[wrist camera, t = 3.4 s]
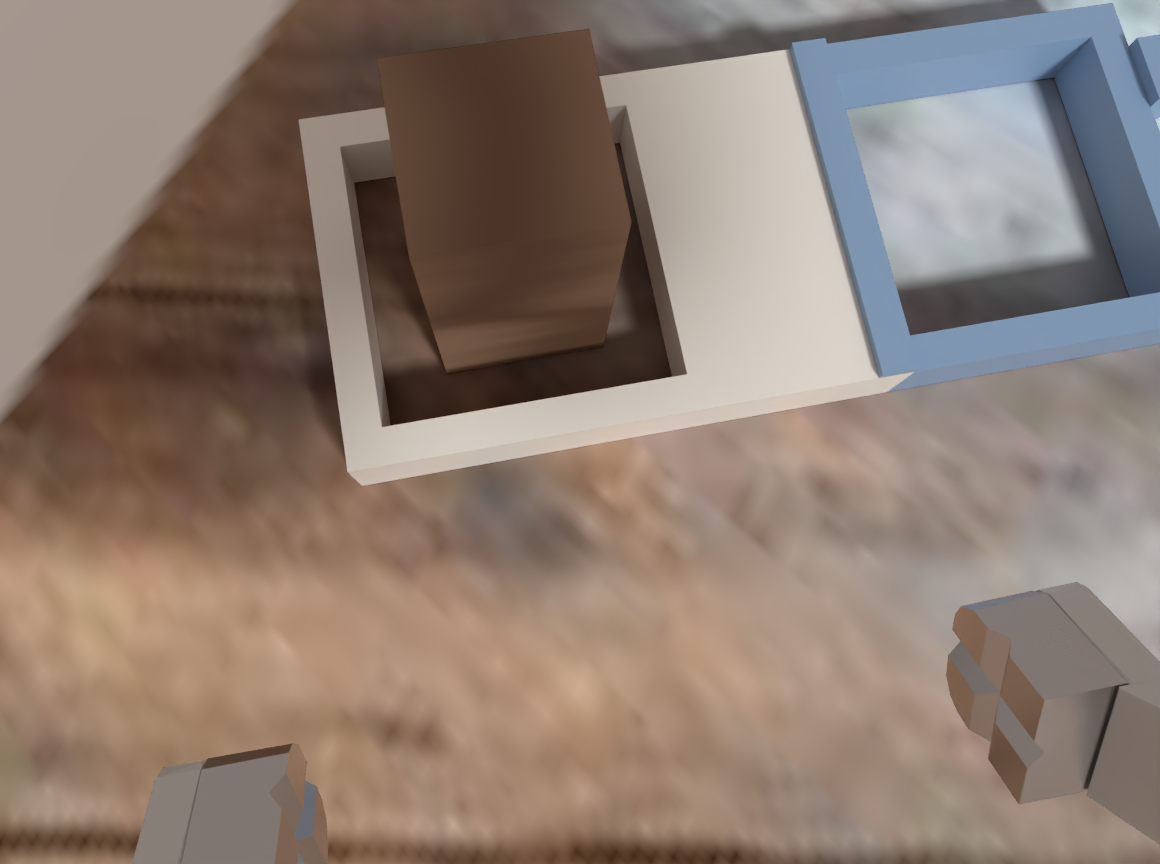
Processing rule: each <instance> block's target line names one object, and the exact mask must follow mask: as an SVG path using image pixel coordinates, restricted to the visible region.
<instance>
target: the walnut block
mask: <svg viewBox="0 0 1160 864" xmlns="http://www.w3.org/2000/svg"><path fill="white" fill-rule="evenodd" d="M377 64H378V71H379V77H380V83H381V89H382V95H383V101H384V107H385V114H386V120H387V126H388V132H389V138H390V144H391V150H392V157H393V163H394V169H395V175H396V181H397V187H398V193H399V200H400V206H401V212H402V218H403V224H404V230H405V236H406V243H407V249H408V255H409V259H410V262H411V265H412V268H413V271H414V274H415V277H416V281H417V284H418V287H419V290H420V293H421V296H422V299H423V302H424V305H425V308H426V311H427V314H428V317H429V320H430V323H431V327H432V330H433V333H434V336H435V339H436V342H437V345H438V348H439V351H440V354H441V357H442V360H443V363H444V366H445V370H446V373H447V374H449V373H455V372H461V371H467V370H473V369H479V368H485V367H491V366H496V365H502V364H508V363H514V362H520V361H526V360H532V359H538V358H544V357H549V356H555V355H561V354H567V353H573V352H579V351H585V350H591V349H597V348H602V347H603V346H604V342H605V337H606V333H607V329H608V324H609V320H610V315H611V311H612V306H613V302H614V298H615V293H616V289H617V284H618V280H619V275H620V271H621V267H622V262H623V258H624V253H625V249H626V244H627V240H628V235H629V231H630V227H631V217H630V213H629V208H628V203H627V199H626V194H625V190H624V185H623V181H622V176H621V172H620V167H619V163H618V158H617V154H616V149H615V145H614V140H613V136H612V131H611V127H610V122H609V118H608V113H607V109H606V104H605V99H604V95H603V90H602V86H601V81H600V77H599V72H598V68H597V63H596V59H595V54H594V50H593V45H592V41H591V36H590V32H589V29H584V30H576V31H569V32H562V33H555V34H548V35H540V36H533V37H526V38H519V39H511V40H504V41H497V42H490V43H483V44H475V45H468V46H461V47H454V48H446V49H439V50H432V51H425V52H417V53H410V54H403V55H396V56H389V57H381V58H377Z"/></svg>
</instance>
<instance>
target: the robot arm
mask: <svg viewBox="0 0 1160 864" xmlns="http://www.w3.org/2000/svg"><path fill="white" fill-rule="evenodd" d="M952 630H953V631H954V632H955V634H956V635H957V637H958V638H959V639H960V643H959V644H958V645H957V646H956V647H955V648H954V649H953V650H952V652H951V653H950V654H949V655H948V663H947V672H946V676H947V681H948V686H949V691H950V695H951V698H952V700H953V703H954V705H955V707H956V709H957V712H958V713H959V715H960V717H961V718H962V720H963V721H964V723H965V724H966V726H967V727H968V729H969V730H971V731H973V732H975V733H976V734H978V735H980V736H982V737H983V738H985V739H987V740H989V741H990V748H989V756H988V759H989V761H990V762H991V764H992V765H993V767H994V768H995V770H996V771H997V773H998V774H999V776H1000V777H1001V779H1002V780H1003V781H1004V783H1005V784H1006V786H1007V787H1008V789H1009V790H1010V792H1011V793H1012V795H1013V796H1014V798H1015V799H1016V801H1017V802H1018V804H1024V803H1029V802H1034V801H1039V800H1044V799H1049V798H1055V797H1060V796H1065V795H1070V794H1075V793H1080V792H1085V791H1087V794H1086V795H1087V796H1089V797H1090V798H1092V799H1093V800H1095V801H1096V802H1097V803H1099V804H1100V805H1102V806H1103V807H1105V808H1106V809H1108V810H1109V811H1111V812H1112V813H1114V814H1115V815H1117V816H1118V817H1120V818H1121V819H1123V820H1124V821H1126V822H1127V823H1129V824H1130V825H1132V826H1133V827H1135V828H1136V829H1137V830H1139V831H1140V832H1142V833H1143V834H1145V835H1146V836H1148V837H1149V838H1151V839H1152V840H1154V841H1155V842H1157V843H1158V844H1160V661H1159V660H1158V659H1157V658H1156V657H1155V656H1154V655H1153V654H1152V653H1151V652H1150V651H1149V650H1148V649H1147V648H1146V647H1145V646H1144V645H1143V644H1142V643H1141V642H1140V641H1139V640H1138V639H1137V638H1136V637H1135V636H1134V635H1133V634H1132V633H1131V632H1130V631H1129V630H1128V629H1127V627H1126V626H1125V625H1124V624H1123V623H1122V622H1121V621H1120V620H1119V619H1118V618H1117V617H1116V616H1115V615H1114V614H1113V613H1112V612H1111V611H1110V610H1109V609H1108V608H1107V607H1106V606H1105V605H1104V604H1103V603H1102V602H1101V601H1100V600H1099V599H1098V598H1097V597H1096V596H1095V595H1094V594H1093V593H1092V591H1091V590H1090V589H1088V588H1087V587H1086V586H1084V585H1082V584H1080V583H1078V582H1075V583H1070V584H1065V585H1060V586H1055V587H1051V588H1046V589H1041V590H1038V591H1029V592H1025V593H1020V594H1016V595H1011V596H1006V597H1002V598H997V599H992V600H988V601H983V602H979V603H974V604H969V605H965V606H961V607H960V608H959V610H958V611H957V612H956V614H955V617H954V623H953V629H952ZM306 767H307V761H306V759H305V757H304V755H303V752H302V750H301V748H300V746H299V744H287V745H282V746H276V747H270V748H265V749H259V750H253V751H248V752H242V753H237V754H231V755H225V756H220V757H214V758H208V759H206V760H200V761H195V762H190V763H184V764H179V765H173V766H168V767H163V769H162V770H161V772H160V773H159V775H158V777H157V778H156V780H155V781H154V785H153V788H152V792H151V796H150V800H149V803H148V807H147V811H146V814H145V818H144V822H143V826H142V829H141V833H140V837H139V840H138V844H137V848H136V852H135V855H134V859H133V863H132V864H327V856H328V836H327V822H326V815H325V811H324V807H323V802H322V799H321V796H320V794H319V791H318V788H317V787H316V786H315V785H313V784H311V783H309V782H307V781H305V778H306Z"/></svg>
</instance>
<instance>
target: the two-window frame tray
mask: <svg viewBox="0 0 1160 864" xmlns="http://www.w3.org/2000/svg"><path fill="white" fill-rule="evenodd" d="M599 77H600V81H601V86H602V90H603V95H604V99H605V104H606V109H607V113H608V118H609V122H610V127H611V131H612V136H613V140H614V144H615V143H620V146H621V150H622V155H623V159H624V164H625V168H626V173H627V177H628V182H629V186H630V190H631V195H632V199H633V204H634V208H635V213H636V217H637V222H638V226H639V231H640V235H641V240H642V244H643V249H644V253H645V258H646V262H647V267H648V271H649V276H650V280H651V285H652V289H653V294H654V298H655V303H656V307H657V312H658V316H659V321H660V325H661V330H662V334H663V339H664V343H665V348H666V352H667V357H668V361H669V366H670V370H671V375H672V377H668V378H663V379H657V380H651V381H645V382H640V383H634V384H628V385H622V386H617V387H611V388H605V389H599V390H594V391H588V392H582V393H576V394H570V395H565V396H559V397H553V398H547V399H542V400H536V401H530V402H524V403H519V404H513V405H507V406H501V407H496V408H490V409H484V410H478V411H473V412H467V413H461V414H455V415H449V416H444V417H438V418H432V419H426V420H421V421H415V422H409V423H403V424H398V425H392V426H391V423H390V417H389V410H388V404H387V397H386V390H385V384H384V377H383V371H382V364H381V357H380V351H379V344H378V338H377V331H376V324H375V318H374V311H373V304H372V298H371V291H370V285H369V278H368V271H367V265H366V258H365V252H364V245H363V238H362V232H361V225H360V219H359V212H358V205H357V199H356V192H355V186H354V183H355V182H362V181H368V180H375V179H382V178H388V177H395V176H396V175H395V169H394V163H393V157H392V150H391V144H390V138H389V132H388V126H387V120H386V114H385V107H383V108H376V109H369V110H362V111H355V112H348V113H341V114H334V115H327V116H320V117H313V118H306V119H299V127H300V134H301V141H302V148H303V155H304V163H305V170H306V177H307V184H308V191H309V198H310V206H311V213H312V220H313V227H314V234H315V242H316V249H317V256H318V263H319V270H320V277H321V285H322V292H323V299H324V306H325V313H326V320H327V328H328V335H329V342H330V349H331V356H332V364H333V371H334V378H335V385H336V392H337V399H338V407H339V414H340V421H341V428H342V435H343V443H344V450H345V457H346V464H347V471H348V473H349V474H350V475H351V476H352V477H353V478H354V479H355V480H357V481H358V482H359V483H360V484H361V485H362V486H364V485H370V484H375V483H381V482H387V481H392V480H398V479H403V478H409V477H415V476H420V475H426V474H431V473H437V472H443V471H448V470H454V469H459V468H465V467H470V466H476V465H482V464H487V463H493V462H498V461H504V460H510V459H515V458H521V457H526V456H532V455H538V454H543V453H549V452H554V451H560V450H566V449H571V448H577V447H582V446H588V445H594V444H599V443H605V442H610V441H616V440H622V439H627V438H633V437H638V436H644V435H650V434H655V433H661V432H666V431H672V430H677V429H683V428H689V427H694V426H700V425H705V424H711V423H717V422H722V421H728V420H733V419H739V418H745V417H750V416H756V415H761V414H767V413H773V412H778V411H784V410H789V409H795V408H801V407H806V406H812V405H817V404H823V403H829V402H834V401H840V400H845V399H851V398H857V397H862V396H868V395H873V394H879V393H884V392H890V391H896V390H901V389H907V388H912V387H918V386H924V385H929V384H935V383H940V382H946V381H952V380H957V379H963V378H968V377H974V376H980V375H985V374H991V373H996V372H1002V371H1008V370H1013V369H1019V368H1024V367H1030V366H1036V365H1041V364H1047V363H1052V362H1058V361H1064V360H1069V359H1075V358H1080V357H1086V356H1091V355H1097V354H1103V353H1108V352H1114V351H1119V350H1125V349H1131V348H1136V347H1142V346H1147V345H1153V344H1159V343H1160V131H1159V129H1158V126H1157V123H1156V121H1155V119H1157V118H1159V117H1160V35H1154V36H1147V37H1141V38H1137V39H1136V40H1135V41H1134V42H1133V43H1132V44H1131V45H1130V46H1129V47H1128V44H1127V41H1126V38H1125V36H1124V33H1123V30H1122V27H1121V25H1120V22H1119V19H1118V16H1117V14H1116V11H1115V8H1114V5H1113V3H1108V4H1102V5H1095V6H1088V7H1081V8H1074V9H1067V10H1060V11H1053V12H1046V13H1039V14H1032V15H1025V16H1018V17H1011V18H1004V19H997V20H990V21H983V22H976V23H969V24H962V25H955V26H948V27H941V28H934V29H927V30H920V31H913V32H906V33H899V34H892V35H885V36H878V37H871V38H864V39H857V40H850V41H843V42H836V43H829V44H827V41H826V38H821V39H814V40H807V41H800V42H793V43H791V46H790V48H789V49H787V50H780V51H773V52H766V53H759V54H753V55H746V56H739V57H732V58H725V59H718V60H711V61H704V62H697V63H690V64H683V65H676V66H669V67H662V68H655V69H648V70H641V71H634V72H627V73H620V74H613V75H606V76H599ZM1048 78H1055V81H1056V84H1057V87H1058V90H1059V93H1060V96H1061V99H1062V102H1063V104H1064V107H1065V110H1066V113H1067V116H1068V119H1069V122H1070V125H1071V128H1072V131H1073V134H1074V137H1075V140H1076V142H1077V145H1078V148H1079V151H1080V154H1081V157H1082V160H1083V163H1084V166H1085V169H1086V172H1087V175H1088V178H1089V180H1090V183H1091V186H1092V189H1093V192H1094V195H1095V198H1096V201H1097V204H1098V207H1099V210H1100V213H1101V216H1102V218H1103V221H1104V224H1105V227H1106V230H1107V233H1108V236H1109V239H1110V242H1111V245H1112V248H1113V251H1114V254H1115V256H1116V259H1117V262H1118V265H1119V268H1120V271H1121V274H1122V277H1123V280H1124V283H1125V286H1126V289H1127V292H1128V294H1129V298H1124V299H1118V300H1112V301H1106V302H1101V303H1095V304H1089V305H1083V306H1078V307H1072V308H1066V309H1060V310H1055V311H1049V312H1043V313H1037V314H1031V315H1026V316H1020V317H1014V318H1008V319H1003V320H997V321H991V322H985V323H980V324H974V325H968V326H962V327H957V328H951V329H945V330H939V331H934V332H928V333H922V334H916V335H910V333H909V330H908V326H907V323H906V319H905V316H904V312H903V309H902V305H901V302H900V298H899V295H898V291H897V288H896V284H895V281H894V277H893V274H892V270H891V267H890V263H889V259H888V256H887V252H886V249H885V245H884V242H883V238H882V235H881V231H880V228H879V224H878V221H877V217H876V214H875V210H874V207H873V203H872V200H871V196H870V193H869V189H868V186H867V182H866V179H865V175H864V171H863V168H862V164H861V161H860V157H859V154H858V150H857V147H856V143H855V140H854V136H853V133H852V129H851V126H850V122H849V119H848V115H847V112H846V109H848V108H855V107H862V106H868V105H875V104H882V103H888V102H895V101H902V100H908V99H915V98H922V97H928V96H935V95H942V94H948V93H955V92H962V91H968V90H975V89H982V88H988V87H995V86H1002V85H1008V84H1015V83H1022V82H1028V81H1035V80H1042V79H1048Z"/></svg>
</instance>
